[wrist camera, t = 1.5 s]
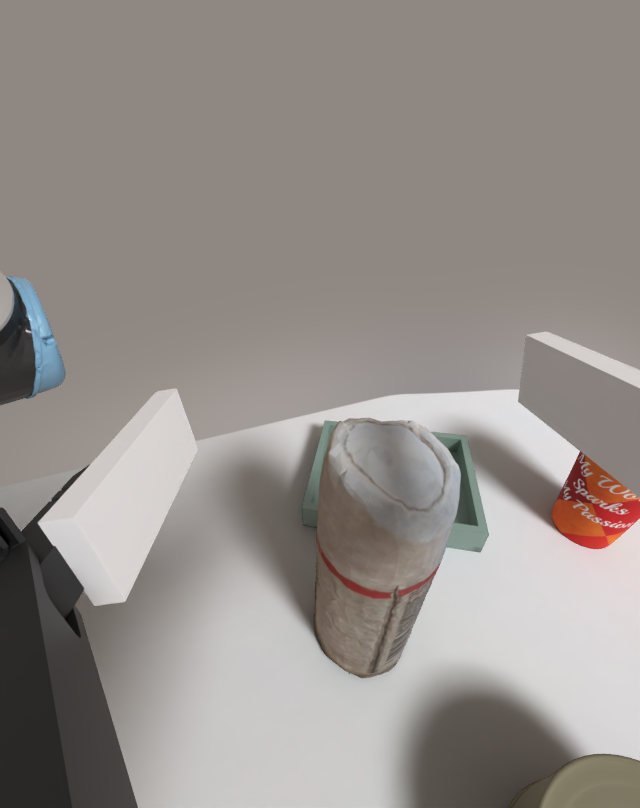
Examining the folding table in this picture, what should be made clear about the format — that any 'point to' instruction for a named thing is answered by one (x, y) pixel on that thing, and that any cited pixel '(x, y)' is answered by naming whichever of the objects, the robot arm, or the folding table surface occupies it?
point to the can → (586, 785)
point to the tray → (470, 515)
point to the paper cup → (594, 506)
